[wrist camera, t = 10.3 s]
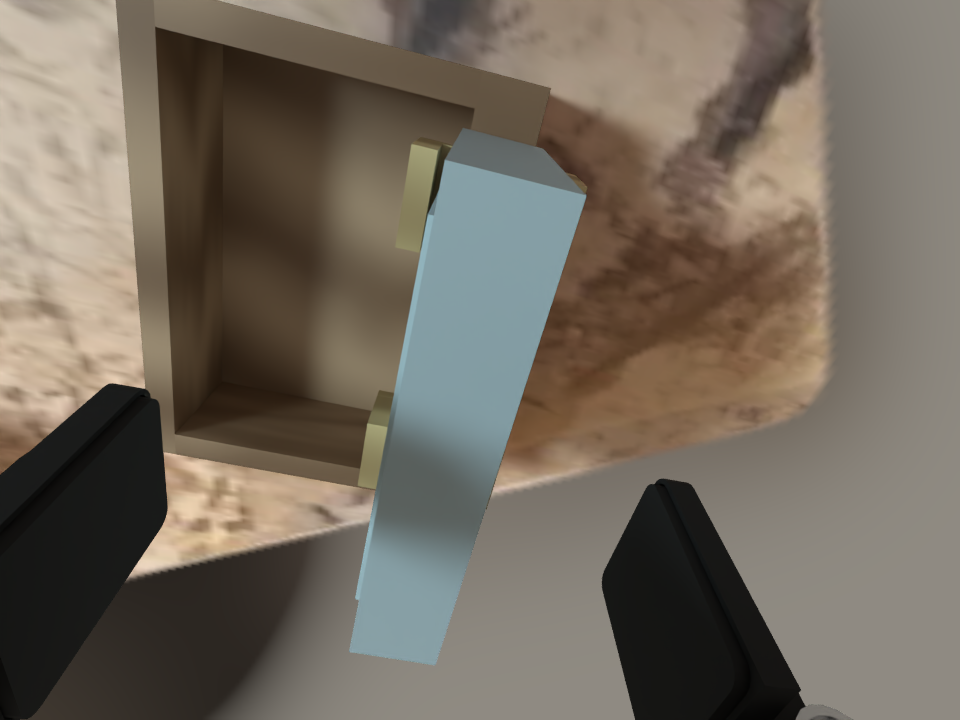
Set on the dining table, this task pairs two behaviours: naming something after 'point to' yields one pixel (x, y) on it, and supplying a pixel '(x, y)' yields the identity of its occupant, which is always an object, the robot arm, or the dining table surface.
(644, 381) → the dining table surface
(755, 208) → the dining table surface
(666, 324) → the dining table surface
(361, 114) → the carcass
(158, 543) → the dining table surface
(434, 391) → the door
